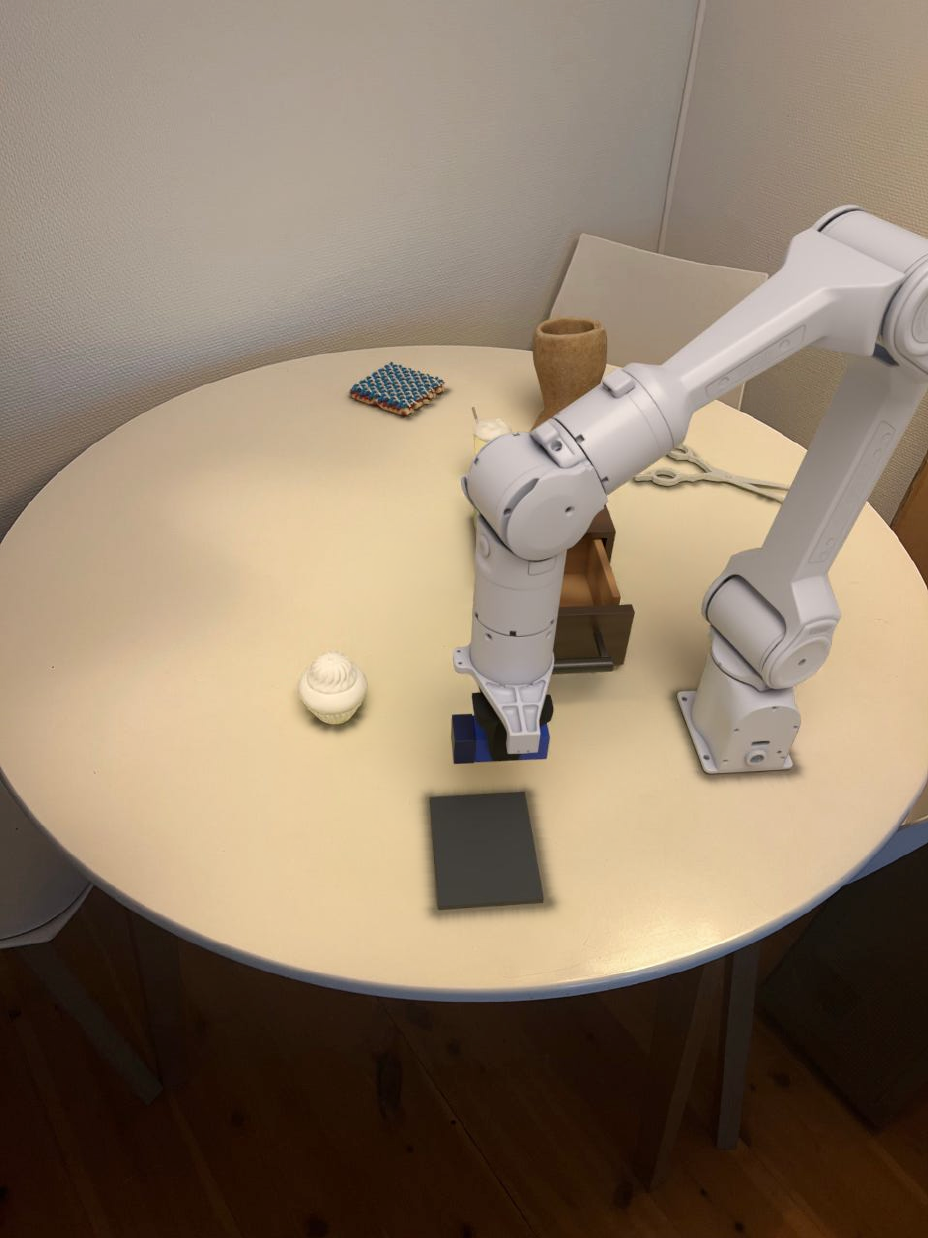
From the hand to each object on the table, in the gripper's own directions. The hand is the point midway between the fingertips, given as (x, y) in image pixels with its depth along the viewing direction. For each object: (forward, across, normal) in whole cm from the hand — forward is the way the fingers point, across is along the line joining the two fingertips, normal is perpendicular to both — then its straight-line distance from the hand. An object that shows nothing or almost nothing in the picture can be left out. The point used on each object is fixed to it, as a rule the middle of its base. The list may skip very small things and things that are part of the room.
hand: (502, 740), depth 68 cm
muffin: (+9, -12, -14) cm, 20 cm away
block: (+1, 0, 0) cm, 1 cm away
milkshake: (+9, -48, +4) cm, 49 cm away
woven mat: (+9, -72, -6) cm, 72 cm away
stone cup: (+9, -60, +16) cm, 62 cm away
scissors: (+8, -48, +34) cm, 59 cm away
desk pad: (+9, +4, -1) cm, 10 cm away
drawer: (+8, -19, +8) cm, 23 cm away
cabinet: (+9, -34, +8) cm, 36 cm away
